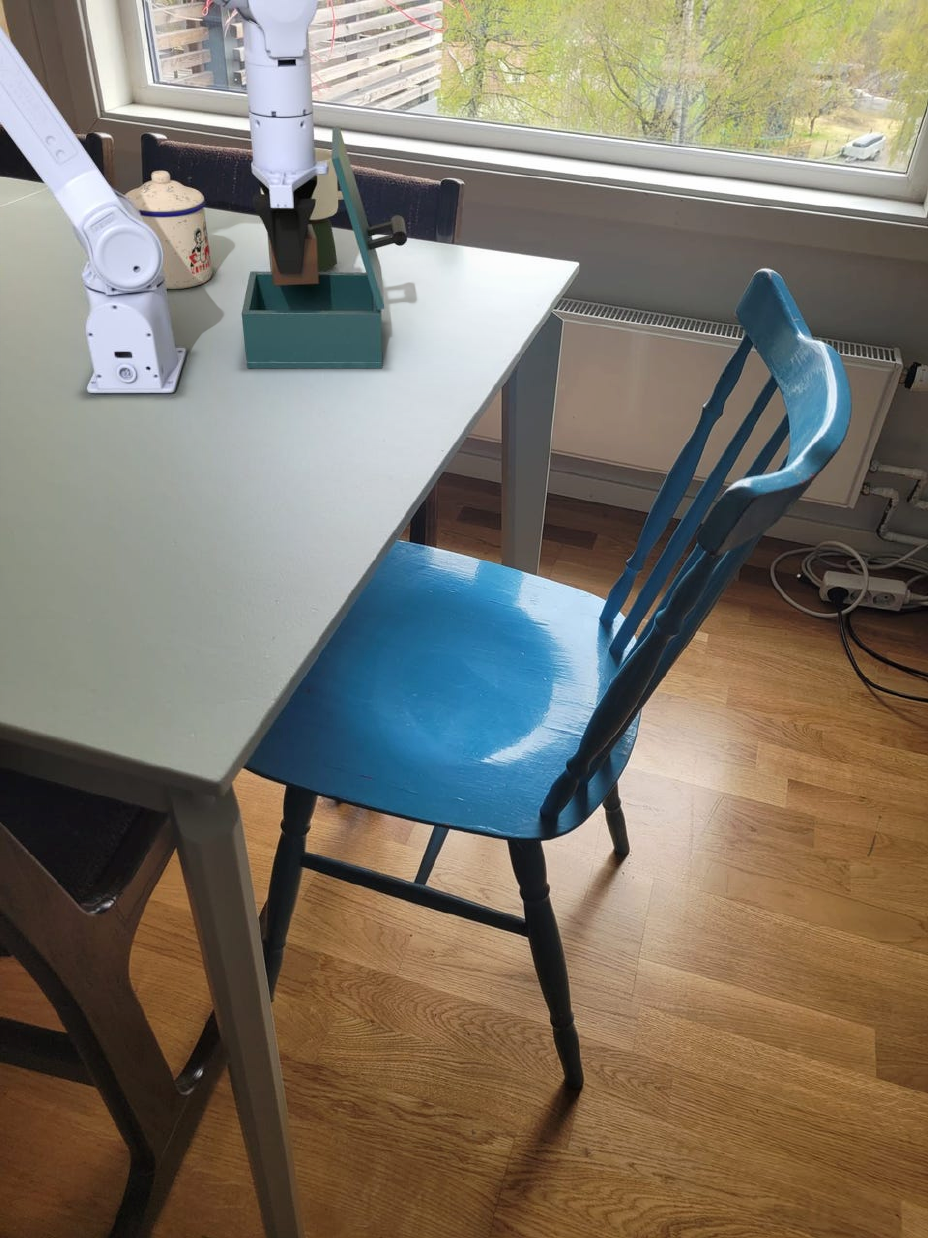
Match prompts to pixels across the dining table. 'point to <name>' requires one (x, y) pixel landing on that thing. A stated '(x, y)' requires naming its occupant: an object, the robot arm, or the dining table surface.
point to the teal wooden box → (312, 323)
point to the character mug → (325, 212)
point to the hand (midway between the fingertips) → (291, 263)
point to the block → (308, 269)
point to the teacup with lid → (176, 228)
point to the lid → (364, 219)
